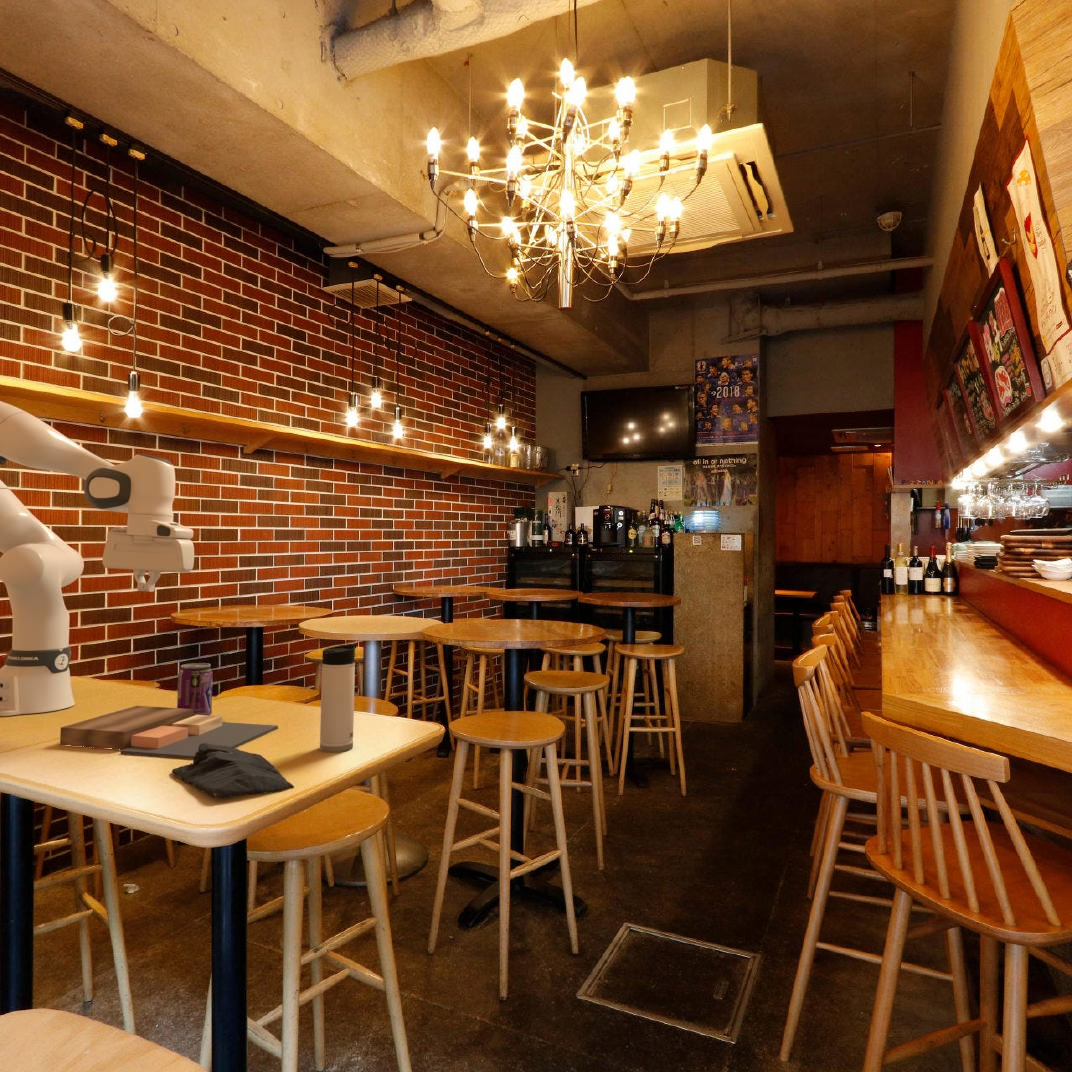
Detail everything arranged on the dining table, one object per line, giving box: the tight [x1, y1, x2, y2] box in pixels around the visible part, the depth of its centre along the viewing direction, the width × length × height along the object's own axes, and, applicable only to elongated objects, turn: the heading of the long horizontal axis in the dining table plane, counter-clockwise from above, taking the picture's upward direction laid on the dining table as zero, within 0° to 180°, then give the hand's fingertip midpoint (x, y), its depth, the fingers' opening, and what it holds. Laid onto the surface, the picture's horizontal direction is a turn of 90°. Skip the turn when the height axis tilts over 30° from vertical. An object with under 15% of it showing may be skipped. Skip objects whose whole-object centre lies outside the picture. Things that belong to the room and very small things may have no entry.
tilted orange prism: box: [131, 726, 188, 748], centre depth 138 cm, size 6×8×2 cm
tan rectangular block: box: [172, 715, 223, 735], centre depth 148 cm, size 6×8×2 cm
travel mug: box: [319, 643, 357, 753], centre depth 138 cm, size 6×7×20 cm
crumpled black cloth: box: [171, 743, 295, 800], centre depth 118 cm, size 15×22×5 cm
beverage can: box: [176, 662, 214, 716], centre depth 160 cm, size 7×7×12 cm
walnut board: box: [59, 705, 193, 751], centre depth 145 cm, size 14×20×4 cm
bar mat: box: [120, 721, 279, 760], centre depth 142 cm, size 18×24×1 cm
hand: (145, 591), depth 155 cm, fingers closed
